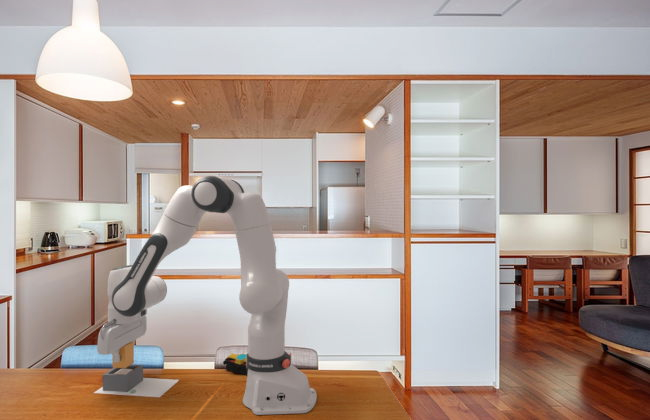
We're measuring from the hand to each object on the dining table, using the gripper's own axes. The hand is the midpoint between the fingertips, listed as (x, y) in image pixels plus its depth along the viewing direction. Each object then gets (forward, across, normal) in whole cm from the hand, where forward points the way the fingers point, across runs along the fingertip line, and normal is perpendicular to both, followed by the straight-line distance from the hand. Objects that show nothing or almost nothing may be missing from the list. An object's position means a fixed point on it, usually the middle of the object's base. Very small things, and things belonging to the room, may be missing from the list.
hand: (123, 358), depth 127 cm
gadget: (+10, +17, -34) cm, 40 cm away
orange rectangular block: (+2, 0, 0) cm, 2 cm away
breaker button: (+8, 0, 0) cm, 8 cm away
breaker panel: (+10, 0, -5) cm, 11 cm away
